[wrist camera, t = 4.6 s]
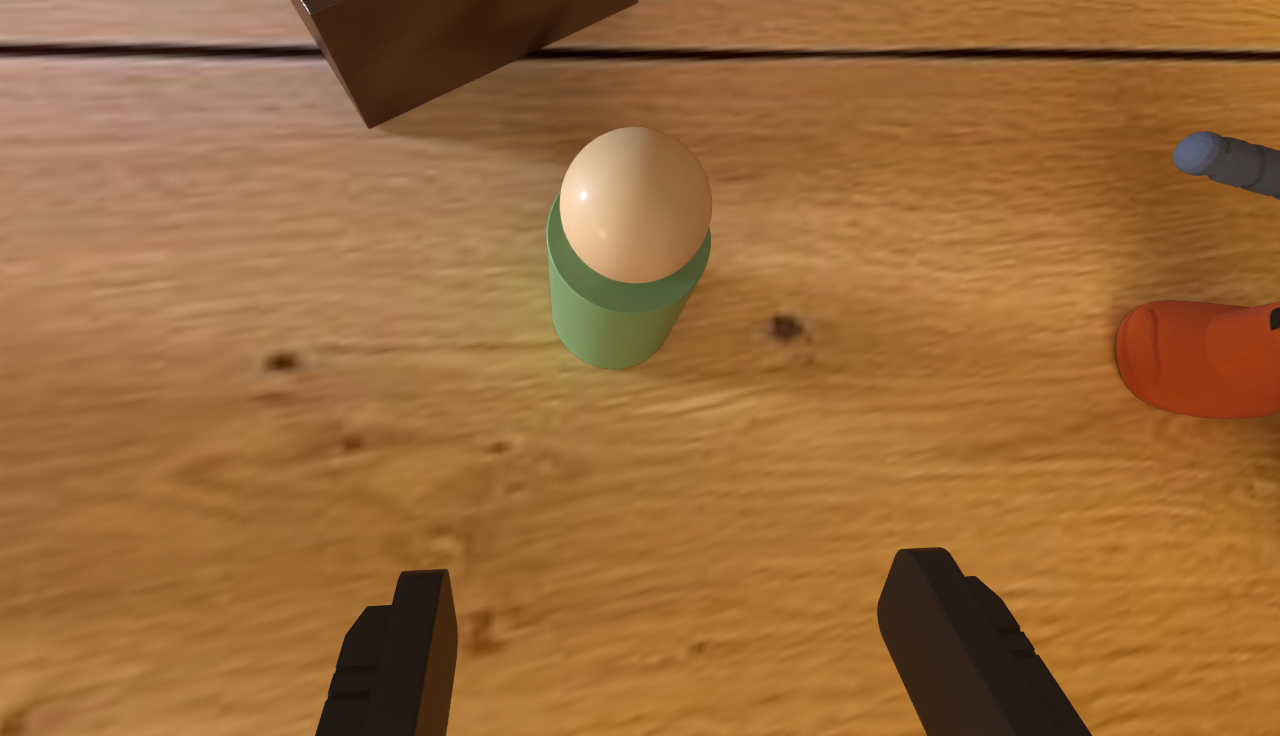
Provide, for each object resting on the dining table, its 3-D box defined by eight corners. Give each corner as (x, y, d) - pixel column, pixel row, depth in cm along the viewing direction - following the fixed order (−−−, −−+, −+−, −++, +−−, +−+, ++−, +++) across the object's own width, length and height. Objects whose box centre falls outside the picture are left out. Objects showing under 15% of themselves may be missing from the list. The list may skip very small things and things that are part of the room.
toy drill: (879, 245, 27) (1330, -45, 13) (1248, 326, 31) (1917, 171, 16) (875, 363, 26) (1362, 190, 12) (1258, 431, 30) (1983, 364, 15)
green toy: (592, 391, 26) (611, 303, 15) (529, 289, 27) (502, 132, 16) (695, 330, 27) (783, 205, 16) (631, 233, 28) (674, 48, 17)
